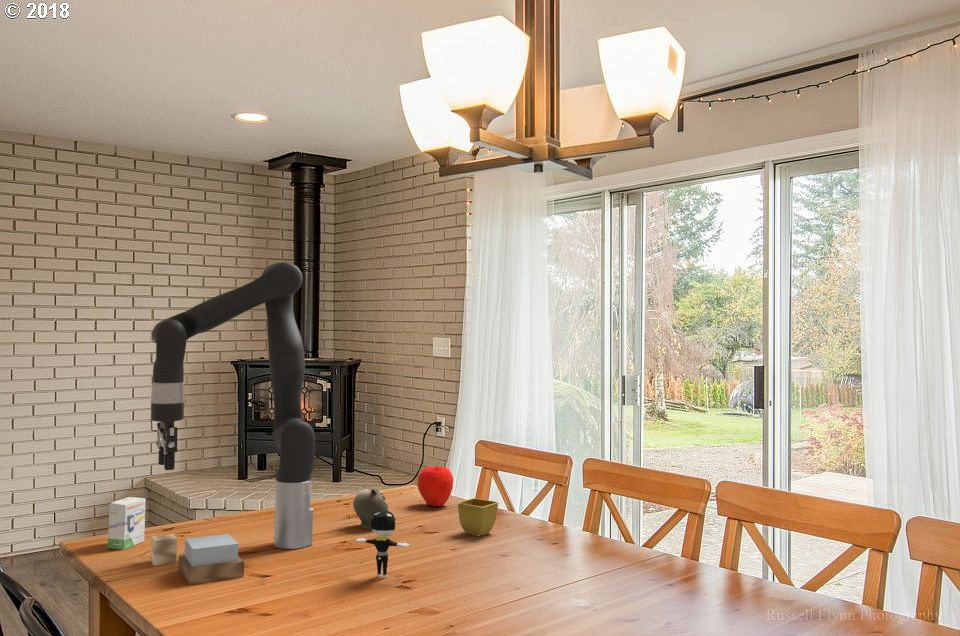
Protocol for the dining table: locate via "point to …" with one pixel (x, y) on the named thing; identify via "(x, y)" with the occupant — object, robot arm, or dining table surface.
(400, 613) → the dining table surface
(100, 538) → the dining table surface
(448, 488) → the apple
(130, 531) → the ink box
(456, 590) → the dining table surface
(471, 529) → the flower pot
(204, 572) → the walnut plinth block
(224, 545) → the slate-blue block
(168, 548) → the maple block
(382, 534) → the toy
